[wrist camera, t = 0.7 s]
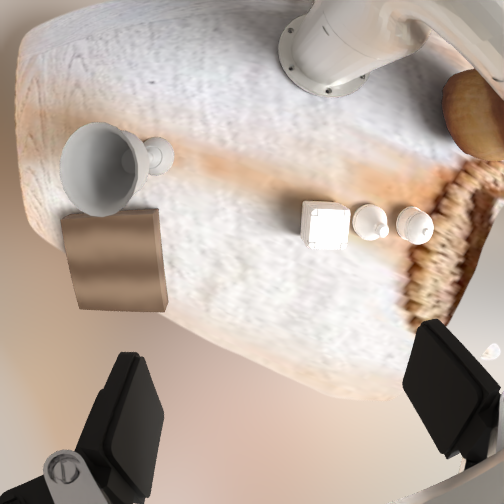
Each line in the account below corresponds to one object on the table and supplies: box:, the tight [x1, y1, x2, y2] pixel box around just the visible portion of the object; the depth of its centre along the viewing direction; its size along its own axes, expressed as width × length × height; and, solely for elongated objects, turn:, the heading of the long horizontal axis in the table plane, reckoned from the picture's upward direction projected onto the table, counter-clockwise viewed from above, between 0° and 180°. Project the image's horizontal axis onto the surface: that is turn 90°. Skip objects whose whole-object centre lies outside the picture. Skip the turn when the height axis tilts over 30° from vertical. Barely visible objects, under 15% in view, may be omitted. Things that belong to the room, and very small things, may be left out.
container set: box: [300, 201, 433, 249], centre depth 39 cm, size 20×5×6 cm, turn 88°
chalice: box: [60, 122, 174, 217], centre depth 28 cm, size 7×7×18 cm
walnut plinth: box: [61, 209, 168, 312], centre depth 40 cm, size 14×14×3 cm
